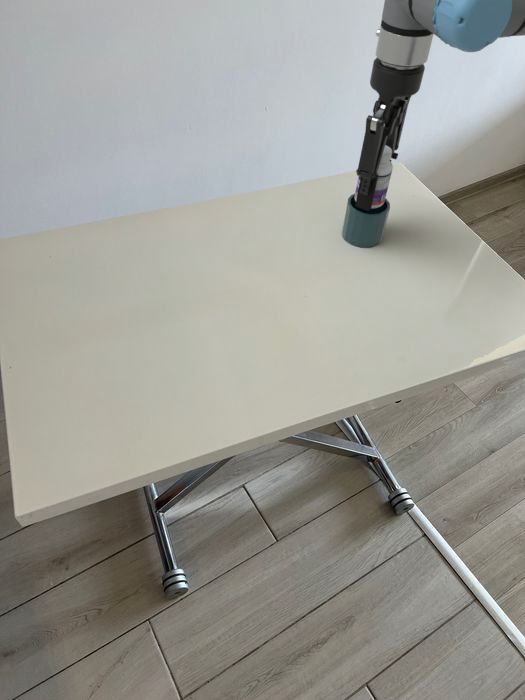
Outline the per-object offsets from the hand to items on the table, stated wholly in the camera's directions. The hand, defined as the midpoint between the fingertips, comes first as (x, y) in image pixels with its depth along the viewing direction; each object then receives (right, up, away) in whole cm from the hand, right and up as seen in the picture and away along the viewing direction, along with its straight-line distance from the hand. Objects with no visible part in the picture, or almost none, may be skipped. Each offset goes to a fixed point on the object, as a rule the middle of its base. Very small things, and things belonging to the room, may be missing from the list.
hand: (369, 199), depth 95 cm
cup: (0, -5, +6) cm, 8 cm away
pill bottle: (0, 0, 0) cm, 1 cm away
